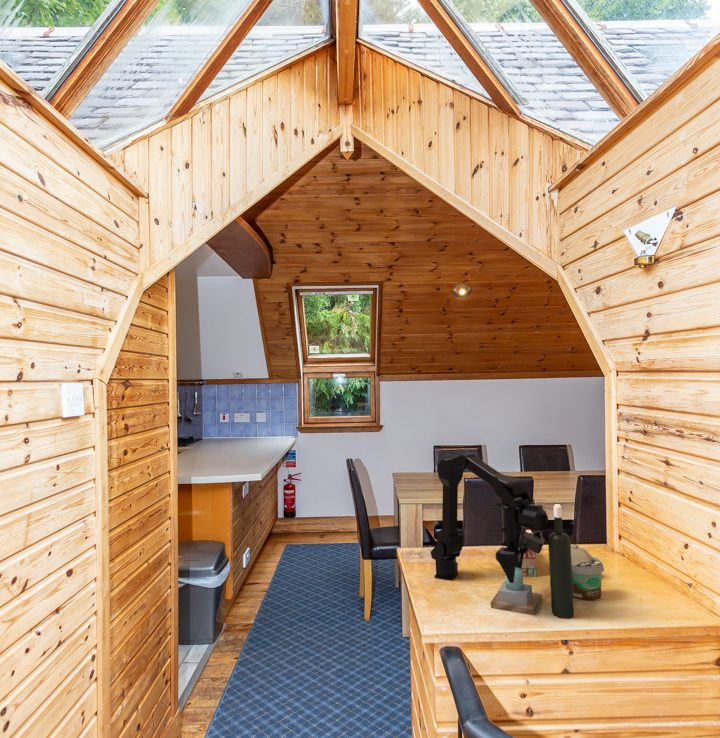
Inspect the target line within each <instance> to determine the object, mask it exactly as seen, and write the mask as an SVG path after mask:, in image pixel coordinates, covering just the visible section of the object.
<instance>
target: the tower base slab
mask: <svg viewBox="0 0 720 738" xmlns="http://www.w3.org/2000/svg"><path fill="white" fill-rule="evenodd" d="M542 594H543V593H539V592H533V591H532V597H531V599H530V601H529V603H528V605H527V606H526V605H520V604H513V603H507V602H501V601H498V592H496V594H495V595H494V597H493V598H492V600H491V601H490V609H493V610H494V609H495V610H499V611H504V612H505V611H506V612H511V613H512V612H513V613H517V614H523V615H529V616H536V613H537V611H538V608H539V607H540V604H541V602H542V600H543V596H542Z"/></svg>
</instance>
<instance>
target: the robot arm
mask: <svg viewBox="0 0 720 738" xmlns="http://www.w3.org/2000/svg"><path fill="white" fill-rule="evenodd" d="M465 470H468V471H469V472H471V473H472V474H473V475H475V476H477V478H479V479H480V480H482V481H483V482H485V483H486V484H488V485H489V486H490V487H491V488H492V491H493V493H494V494H495V495H496V496H497V497H498V498H499V499H500V500H499V501H497V503H496V504H495V506H496V507H499V508H501V510H502V511H501V515H502V526H501V527H500V531H501V532H502V535H503V536H502V537H503V539H502V541H501V547H500V548H499V549H498V550H497V551H496V552H495V561H497V563H499V565H500V567H501V568H502V570H503V572H504V574H506V576H507V579H508V581H509V582H510V583H514V577H515V568H516V567H517V568H521V567H522V562H523V557H524V554H525V553H526V552H527V551H528V550H529V549H530V550H532V551H534V552H535V553H536V554H540V553H541V552H542V549H543V546H544V545H545V542H546V541H545V538H544V537H543V533H542V531H544V530H545V529H546V528H547V526H548V523H549V515H548V513H547V512H546V510H544V508H543V507H544V506H543V504H534V501H533V499H532V498H531V496H530V494H529V493H528V491H527V489H526V488H525V484H524V482H523V481H522V480H520V479H518V478H515V477H513V476H511V475H507V474H506V475H505V474H503V473H501V472H499V471H498V470H496V469H495V468H493V466H490V465H489V464H487V463H486V462H484V461H483V460H481V458H478V456H476V454H474V453H472V452H469V453H464V454H461V455H458V456H457V457H454V458H453V457H452V458H447V459H441V460H440V461H439V462H438V464H437V474H438V475H437V476H438V479H439V481H440V483H441V485H442V507H441V509H442V512H441V513H442V518H441V519H442V520H441V528H440V531H439V533H438V534H437V539H436V545H435V546H434V547H433V549H431V551H430V556H431V559H433V560H434V561H435V575H434V578H435V579H440V580H441V579H442V580H449V581H453V580H454V579H456V577H457V576H458V575H459V566H458V565H459V562H458V561H457V557H460V555H461V551H463V547H465V544H464V534H463V533H460V531H459V529H458V508H459V507H458V505H459V504H458V500H459V497H458V495H459V485H460V482H461V481H462V479H463V477H464V476H463V475H464V471H465ZM527 528H528V529H532V530H536V531H534V532H532V533H528V532H526V530H527Z"/></svg>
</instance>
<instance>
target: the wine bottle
mask: <svg viewBox="0 0 720 738" xmlns="http://www.w3.org/2000/svg"><path fill="white" fill-rule="evenodd" d="M562 507H563V506H561V503H559V504H558V503H557V504H554V505H553V517H554V518H553V519H554V531H553V532H551V533H550V534H549V535H548V539H547V540H548V541H547V542H548V543H547V544H548V545H547V546H548V561H549V562H548V564H549V579H550V580H549V583H550V585H549V587H550V602H551V603H550V604H551V615H553V616H554V617H556V618H560V619H571V618H573V617H574V616H575V607H574V598H573V583H572V563H571V546H572V545H571V538H570V536H569V535H568V534H567V533H565V532H563V508H562Z"/></svg>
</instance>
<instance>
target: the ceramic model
mask: <svg viewBox="0 0 720 738" xmlns="http://www.w3.org/2000/svg"><path fill="white" fill-rule="evenodd" d="M591 561H594V556H592V555H591V554H590V553H589V552H588V551H587V549H585V548H583V547H579V544H577V543H575V544H572V545H571V563H572V565H573V566H575V565H578V564H580V563H582V562H591Z"/></svg>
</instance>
